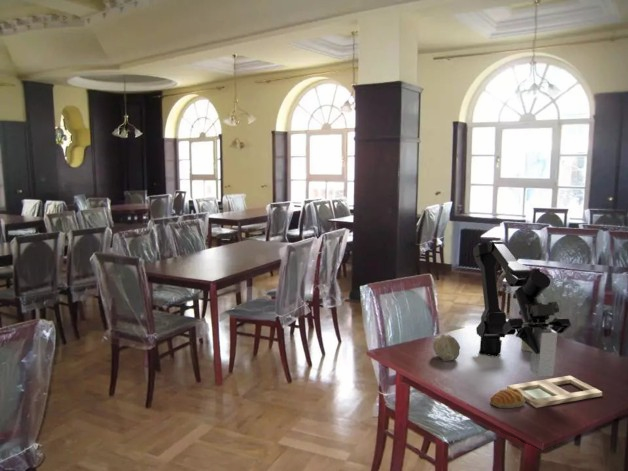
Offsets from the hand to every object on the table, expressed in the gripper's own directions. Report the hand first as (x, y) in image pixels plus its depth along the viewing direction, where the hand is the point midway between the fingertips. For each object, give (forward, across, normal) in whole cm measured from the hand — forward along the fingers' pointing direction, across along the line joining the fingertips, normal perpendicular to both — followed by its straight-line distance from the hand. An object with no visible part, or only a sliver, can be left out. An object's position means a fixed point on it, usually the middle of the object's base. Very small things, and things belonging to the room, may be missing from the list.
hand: (545, 353), depth 147 cm
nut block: (+4, 0, +6) cm, 7 cm away
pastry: (+12, -12, +8) cm, 18 cm away
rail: (+8, +5, +11) cm, 15 cm away
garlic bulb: (-12, -18, +31) cm, 38 cm away
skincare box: (-16, +16, +35) cm, 42 cm away
